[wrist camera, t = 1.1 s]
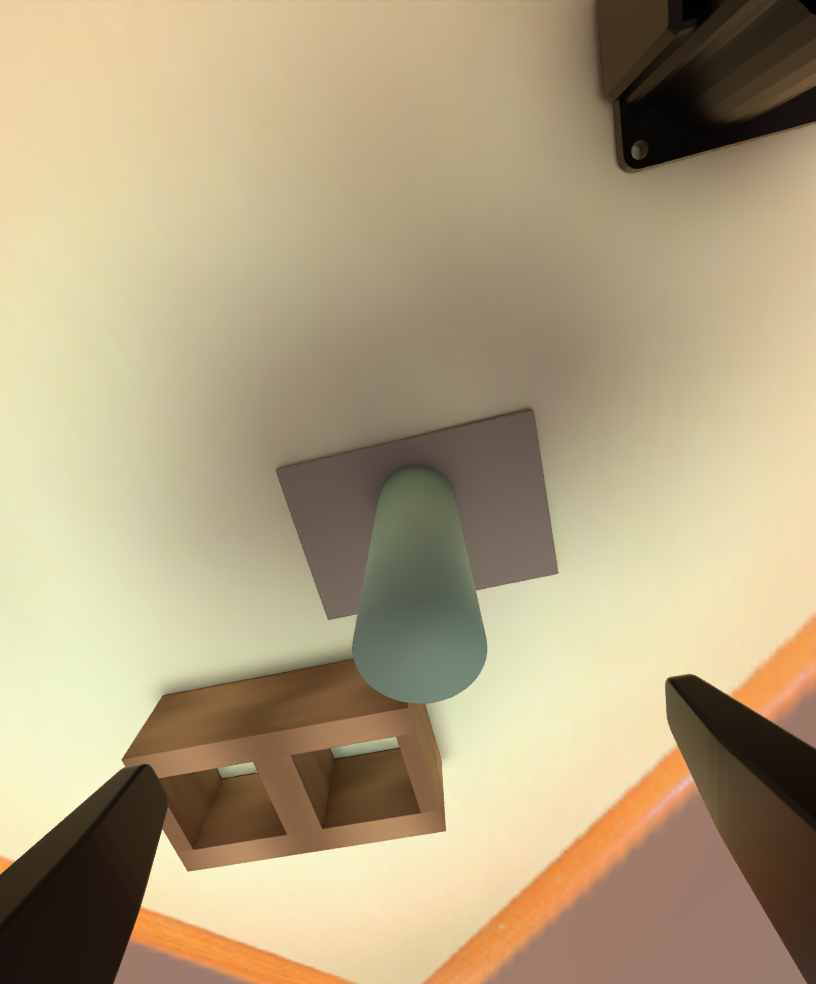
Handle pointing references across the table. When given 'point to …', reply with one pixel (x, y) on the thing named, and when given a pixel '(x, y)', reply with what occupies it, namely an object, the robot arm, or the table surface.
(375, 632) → the peg
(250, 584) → the table surface
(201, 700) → the block
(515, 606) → the table surface
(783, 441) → the table surface
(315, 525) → the mat
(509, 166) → the table surface
